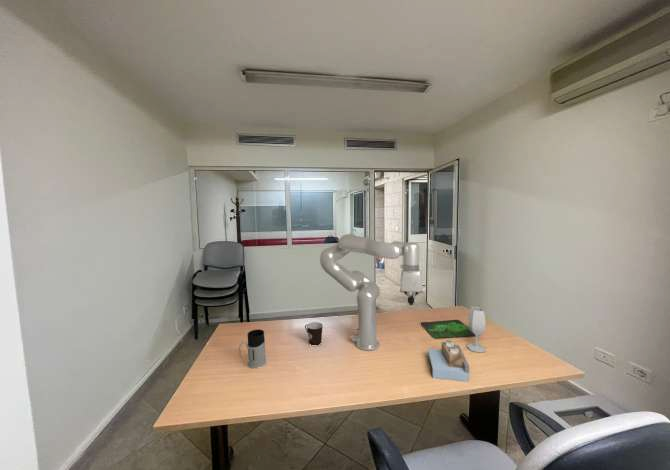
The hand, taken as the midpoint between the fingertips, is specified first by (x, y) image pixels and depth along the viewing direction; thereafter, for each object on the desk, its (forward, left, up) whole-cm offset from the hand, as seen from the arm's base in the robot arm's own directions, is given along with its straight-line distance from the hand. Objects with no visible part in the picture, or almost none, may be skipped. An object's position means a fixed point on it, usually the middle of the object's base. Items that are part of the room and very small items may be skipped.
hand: (410, 304), depth 130 cm
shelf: (+15, -10, -25) cm, 31 cm away
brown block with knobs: (+17, -10, -21) cm, 29 cm away
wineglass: (+33, +10, -25) cm, 43 cm away
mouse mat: (+23, +31, -26) cm, 46 cm away
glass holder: (-73, -25, -25) cm, 81 cm away
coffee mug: (-51, +2, -25) cm, 57 cm away
